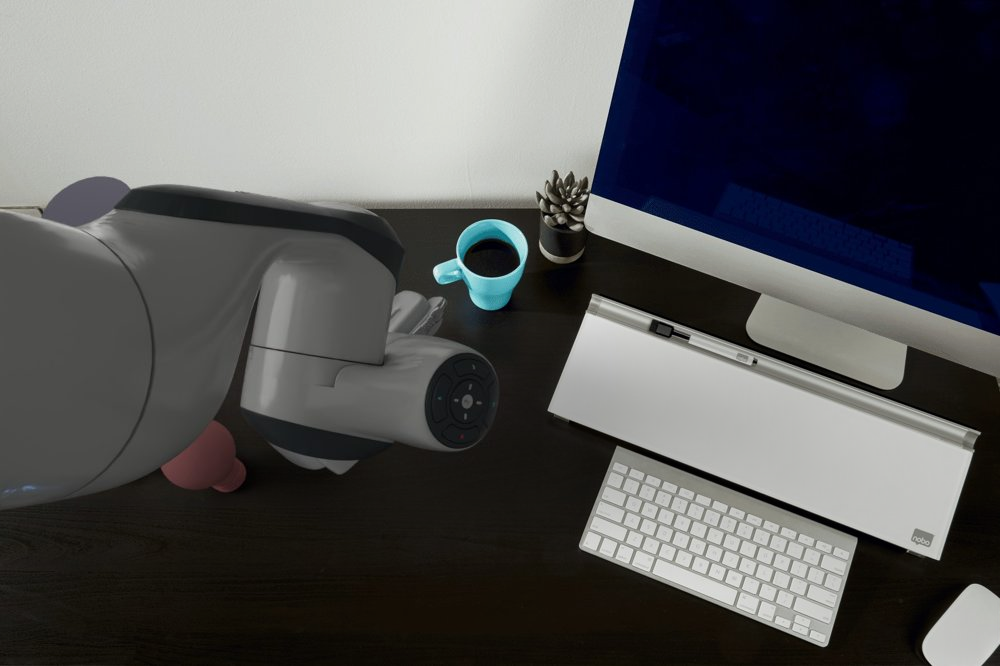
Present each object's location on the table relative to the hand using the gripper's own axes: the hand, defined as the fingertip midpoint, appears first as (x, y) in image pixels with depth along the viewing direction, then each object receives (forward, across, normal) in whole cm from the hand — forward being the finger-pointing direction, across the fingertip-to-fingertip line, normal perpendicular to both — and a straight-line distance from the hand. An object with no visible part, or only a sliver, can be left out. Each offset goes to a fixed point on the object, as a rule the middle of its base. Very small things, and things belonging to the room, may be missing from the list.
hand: (330, 367), depth 77 cm
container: (+28, +3, -16) cm, 32 cm away
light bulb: (+9, +15, +3) cm, 18 cm away
